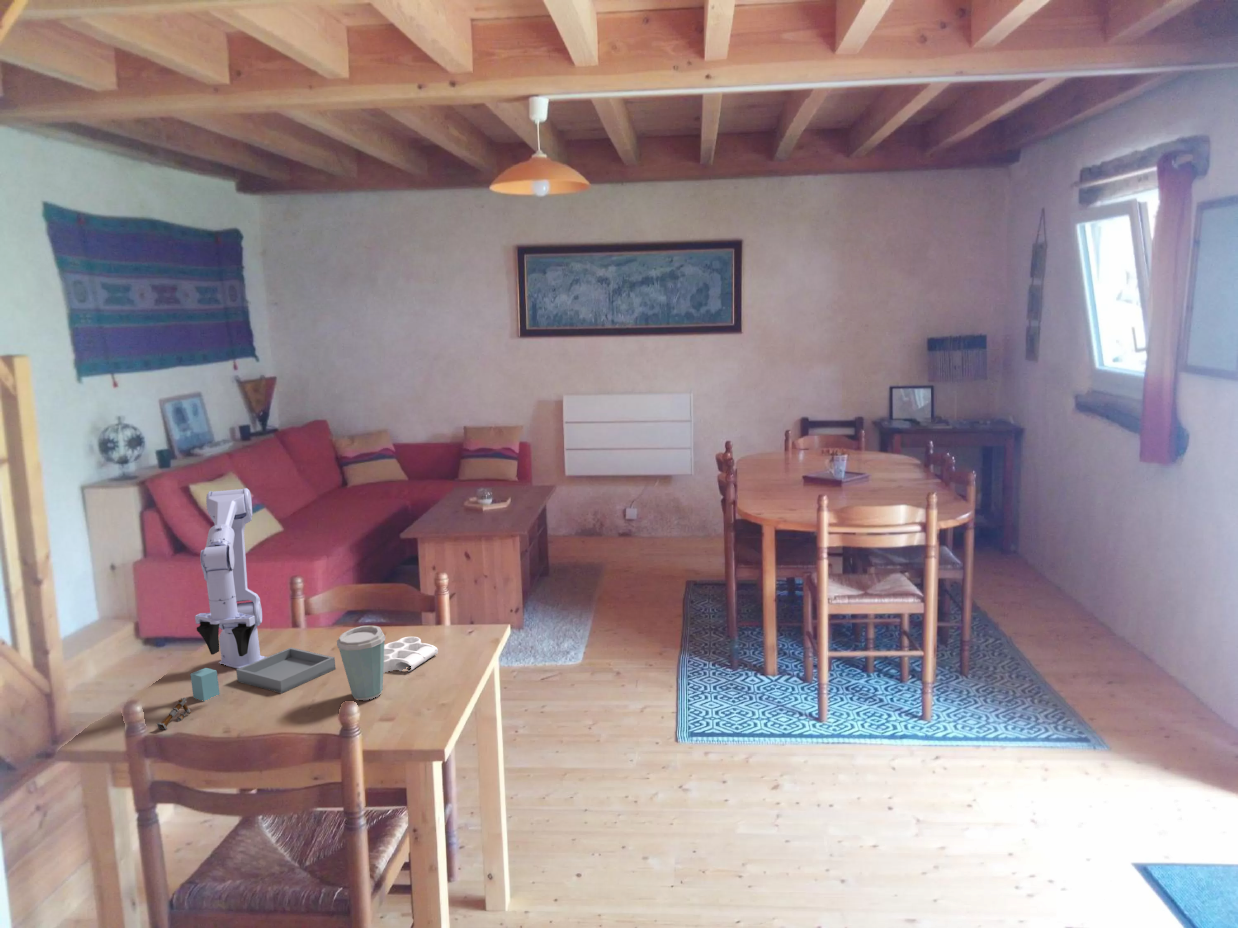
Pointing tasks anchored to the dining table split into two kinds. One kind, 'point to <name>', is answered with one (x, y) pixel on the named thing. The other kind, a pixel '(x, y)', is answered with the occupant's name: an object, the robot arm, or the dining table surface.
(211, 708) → the dining table surface
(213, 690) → the block
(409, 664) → the white muffin tin
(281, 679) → the tray
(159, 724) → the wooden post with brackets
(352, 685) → the disposable coffee cup
